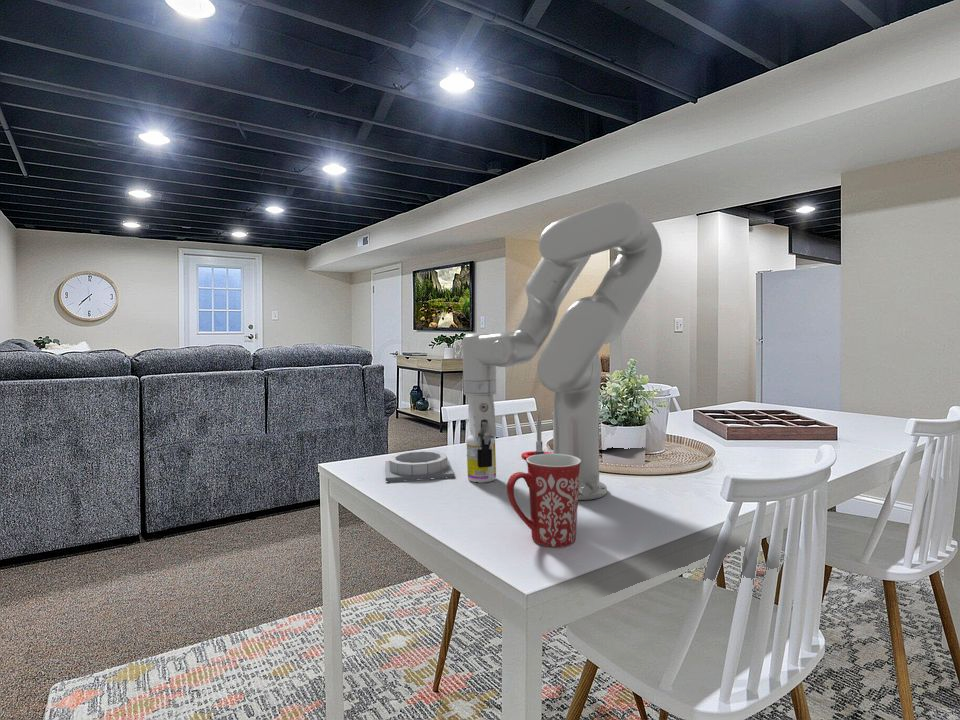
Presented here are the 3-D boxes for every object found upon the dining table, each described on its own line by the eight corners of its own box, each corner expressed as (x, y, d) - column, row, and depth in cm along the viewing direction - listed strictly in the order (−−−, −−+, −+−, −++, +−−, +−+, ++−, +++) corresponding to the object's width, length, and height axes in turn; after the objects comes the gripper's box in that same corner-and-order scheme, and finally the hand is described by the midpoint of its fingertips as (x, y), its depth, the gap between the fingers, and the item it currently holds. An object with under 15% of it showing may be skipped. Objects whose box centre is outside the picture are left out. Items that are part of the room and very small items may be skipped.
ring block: (454, 477, 132) (454, 462, 131) (385, 482, 129) (385, 467, 129) (447, 461, 147) (446, 448, 147) (385, 465, 145) (385, 451, 144)
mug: (567, 526, 99) (566, 451, 98) (591, 545, 90) (590, 463, 89) (499, 535, 95) (498, 457, 95) (518, 556, 87) (516, 470, 86)
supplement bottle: (484, 474, 134) (483, 421, 133) (502, 479, 129) (500, 424, 128) (461, 479, 130) (460, 424, 129) (479, 485, 125) (477, 428, 124)
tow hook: (520, 455, 154) (523, 462, 145) (519, 408, 154) (522, 412, 144) (550, 455, 154) (556, 461, 145) (549, 408, 154) (555, 412, 145)
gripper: (503, 391, 120) (505, 470, 121) (489, 383, 137) (490, 452, 139) (469, 392, 119) (471, 472, 120) (458, 384, 136) (460, 454, 137)
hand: (481, 461), depth 129 cm, fingers open, 8 cm apart
